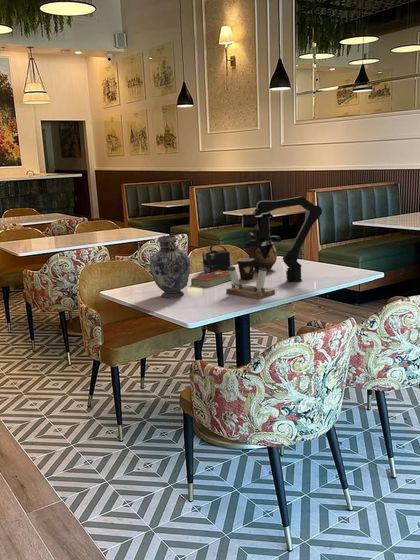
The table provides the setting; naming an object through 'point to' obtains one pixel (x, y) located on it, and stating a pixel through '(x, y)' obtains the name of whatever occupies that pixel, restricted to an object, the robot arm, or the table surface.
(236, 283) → the lever
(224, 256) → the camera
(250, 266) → the coffee mug
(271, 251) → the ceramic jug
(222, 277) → the hardcover book
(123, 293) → the table surface
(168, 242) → the decorative vase
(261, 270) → the lever
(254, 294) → the switch box
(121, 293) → the table surface
